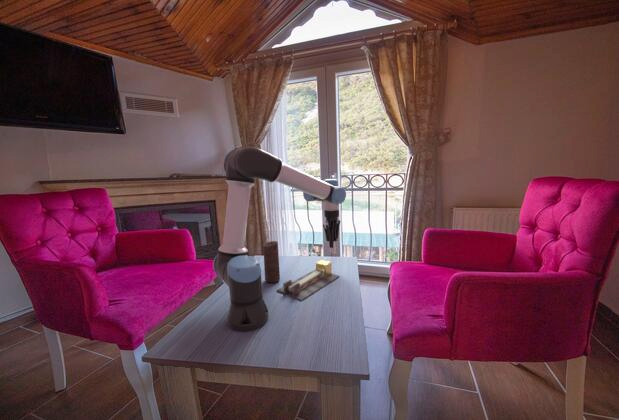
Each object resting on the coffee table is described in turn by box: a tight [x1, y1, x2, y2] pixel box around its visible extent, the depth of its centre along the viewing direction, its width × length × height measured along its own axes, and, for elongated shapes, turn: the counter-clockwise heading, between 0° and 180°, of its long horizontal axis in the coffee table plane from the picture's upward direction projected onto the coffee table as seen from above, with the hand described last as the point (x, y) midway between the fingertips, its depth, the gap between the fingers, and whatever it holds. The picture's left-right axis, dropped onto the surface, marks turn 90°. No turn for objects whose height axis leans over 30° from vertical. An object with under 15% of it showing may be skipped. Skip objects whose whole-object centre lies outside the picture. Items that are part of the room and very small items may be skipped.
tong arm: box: [287, 271, 321, 291], centre depth 125 cm, size 21×3×2 cm, turn 140°
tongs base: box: [276, 268, 340, 302], centre depth 127 cm, size 29×15×5 cm, turn 140°
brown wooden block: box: [262, 240, 281, 283], centre depth 130 cm, size 8×7×20 cm
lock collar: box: [315, 259, 333, 277], centre depth 135 cm, size 5×6×6 cm
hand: (332, 252), depth 140 cm, fingers closed
